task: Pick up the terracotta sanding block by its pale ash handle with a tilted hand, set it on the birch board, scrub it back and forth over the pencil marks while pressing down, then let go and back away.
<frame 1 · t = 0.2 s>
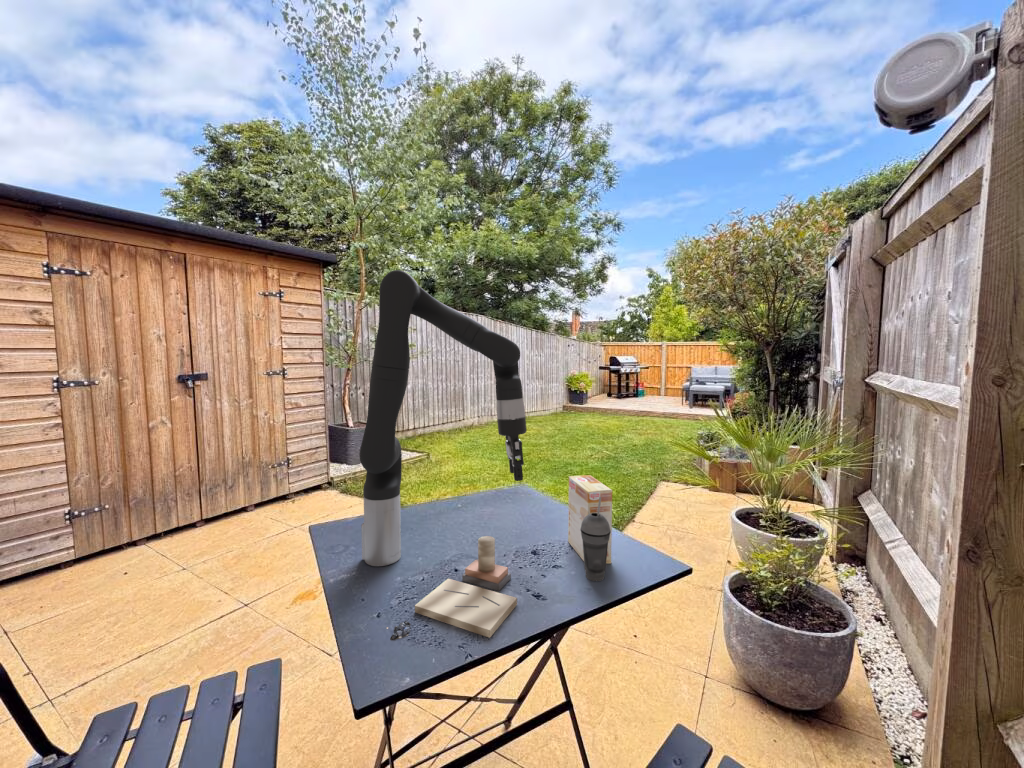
hand: (516, 476, 111), 22 cm above the table, tool pointing down, fingers open, 8 cm apart
sanding block: (486, 580, 100), on the table
coffeecake box: (588, 552, 114), on the table
beverage cup: (594, 577, 101), on the table
board: (466, 608, 88), on the table
blueberries: (399, 632, 81), on the table
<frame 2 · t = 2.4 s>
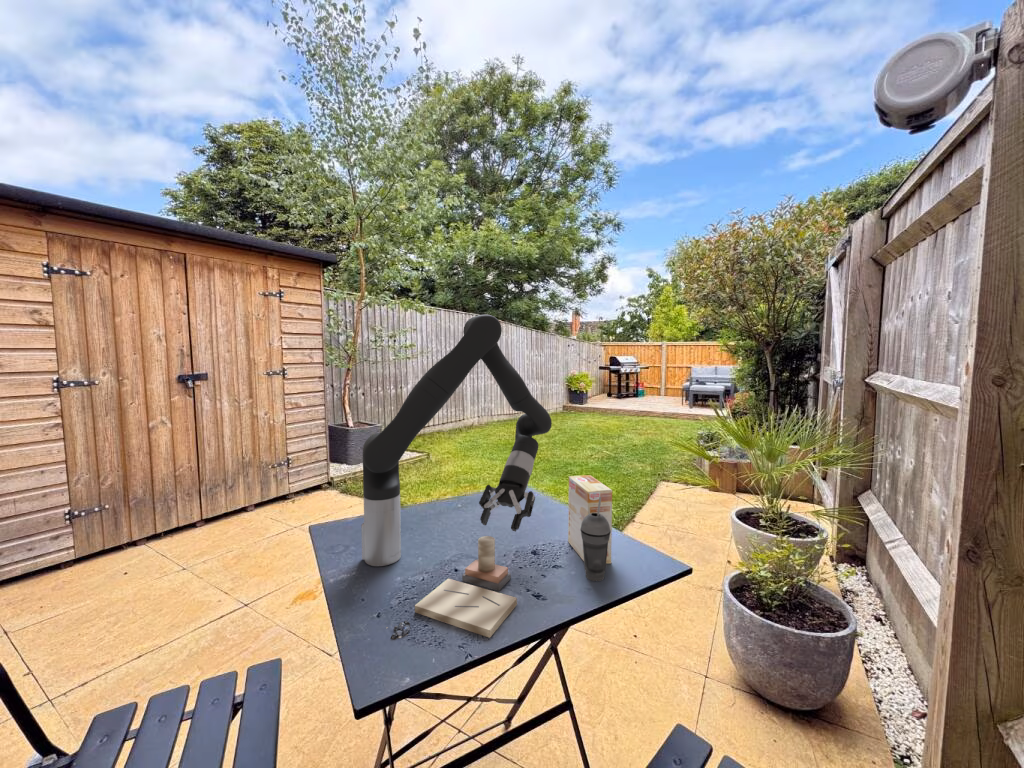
hand: (498, 527, 105), 11 cm above the table, tool tilted 45°, fingers open, 8 cm apart
nothing on the table moved.
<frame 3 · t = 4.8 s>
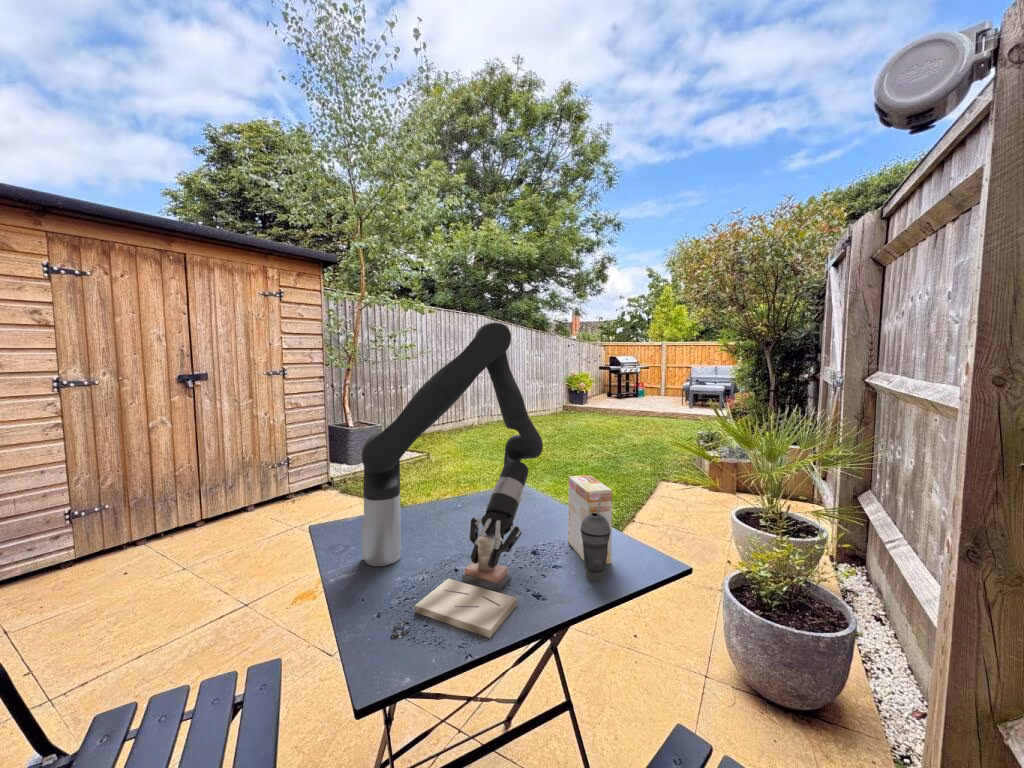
hand: (482, 564, 98), 5 cm above the table, tool tilted 45°, fingers closed on sanding block, 4 cm apart
sanding block: (486, 579, 100), on the table, touching gripper
everything else where it was.
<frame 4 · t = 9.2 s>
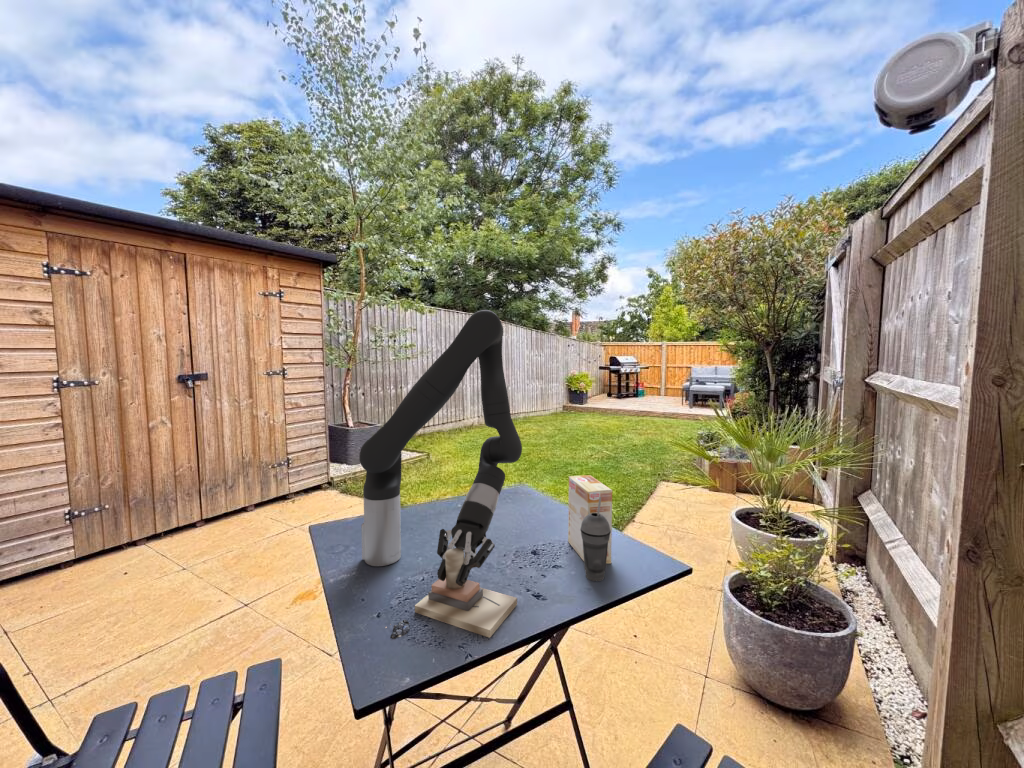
hand: (449, 581, 87), 6 cm above the table, tool tilted 45°, fingers closed on sanding block, 4 cm apart
sanding block: (455, 597, 90), point 2 cm above the table, touching board, gripper
everything else where it was.
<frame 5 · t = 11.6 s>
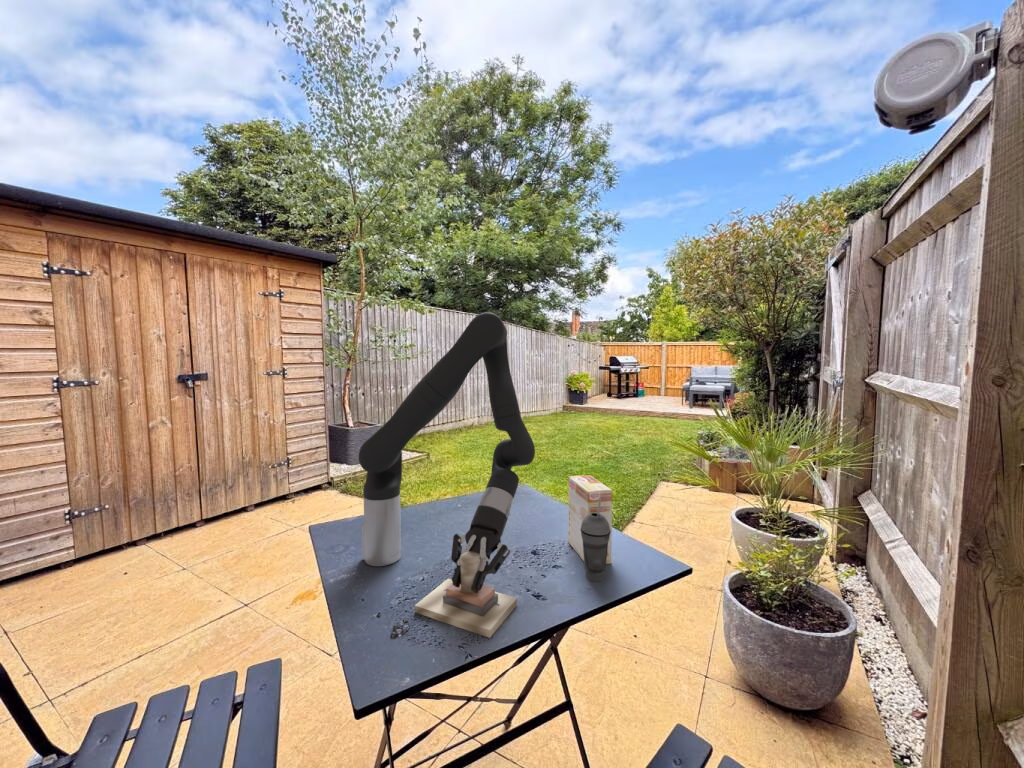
hand: (464, 588, 86), 6 cm above the table, tool tilted 45°, fingers closed on sanding block, 4 cm apart
sanding block: (470, 601, 88), point 2 cm above the table, touching gripper
everything else where it was.
when the fingers open (6 cm above the table, at t = 13.5 s): sanding block stays where it is, resting on board.
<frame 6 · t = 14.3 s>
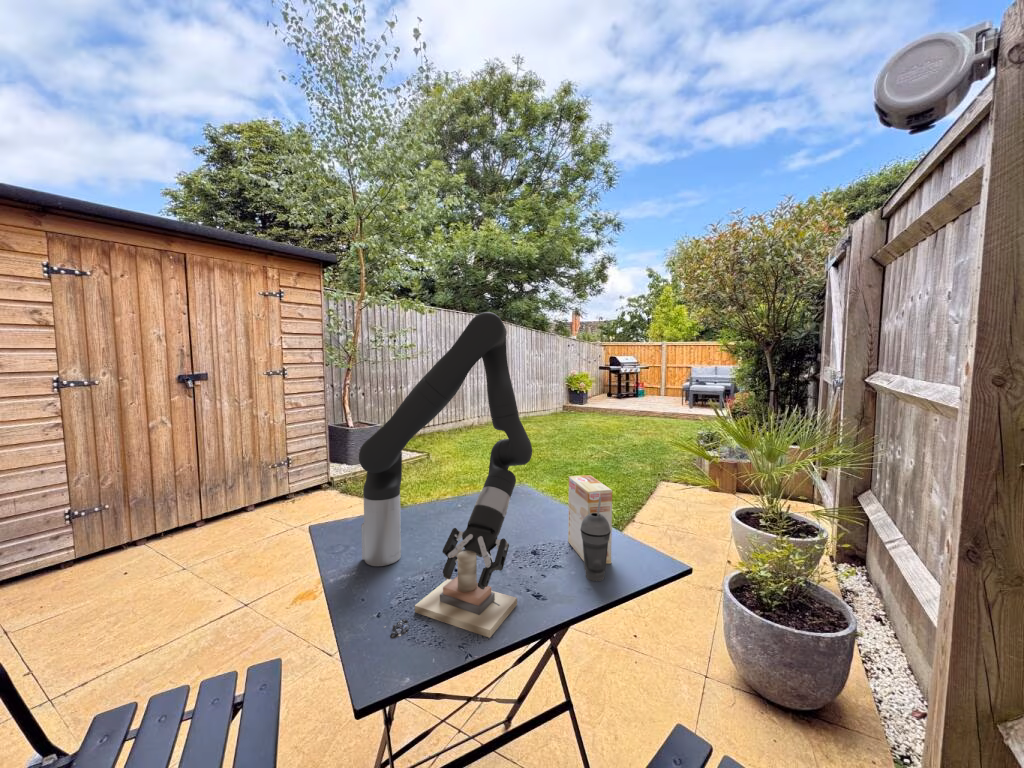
hand: (463, 582, 87), 6 cm above the table, tool tilted 45°, fingers open, 8 cm apart
sanding block: (467, 600, 89), point 2 cm above the table, touching board
everything else where it was.
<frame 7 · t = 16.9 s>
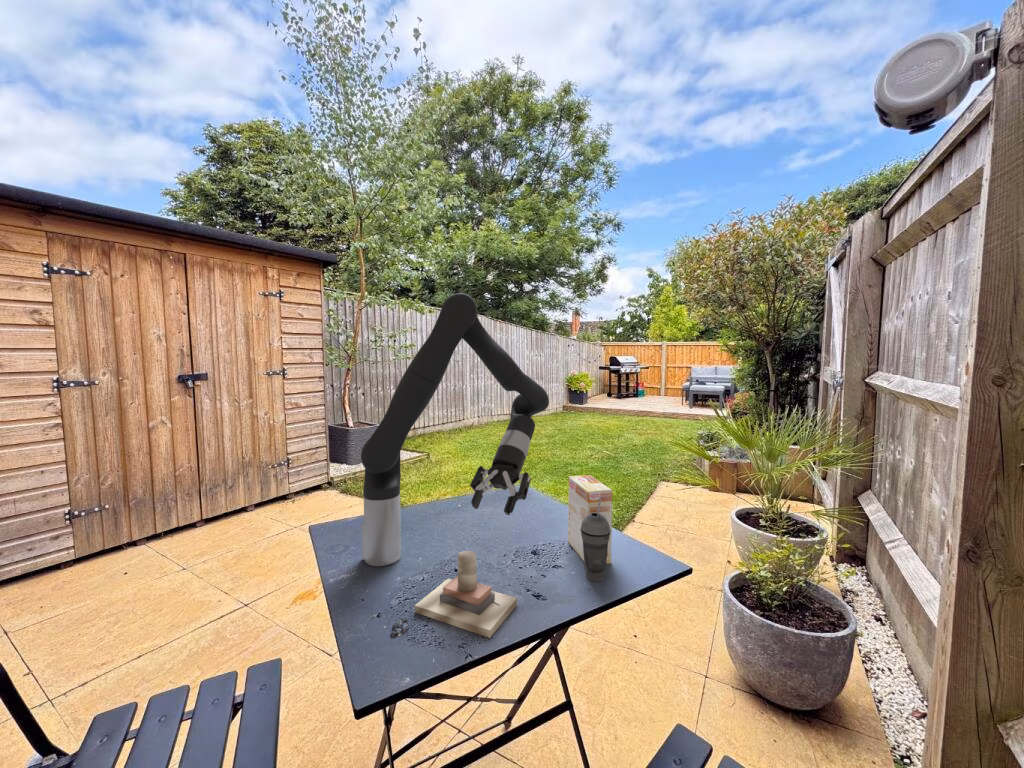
hand: (490, 510, 97), 18 cm above the table, tool tilted 45°, fingers open, 8 cm apart
nothing on the table moved.
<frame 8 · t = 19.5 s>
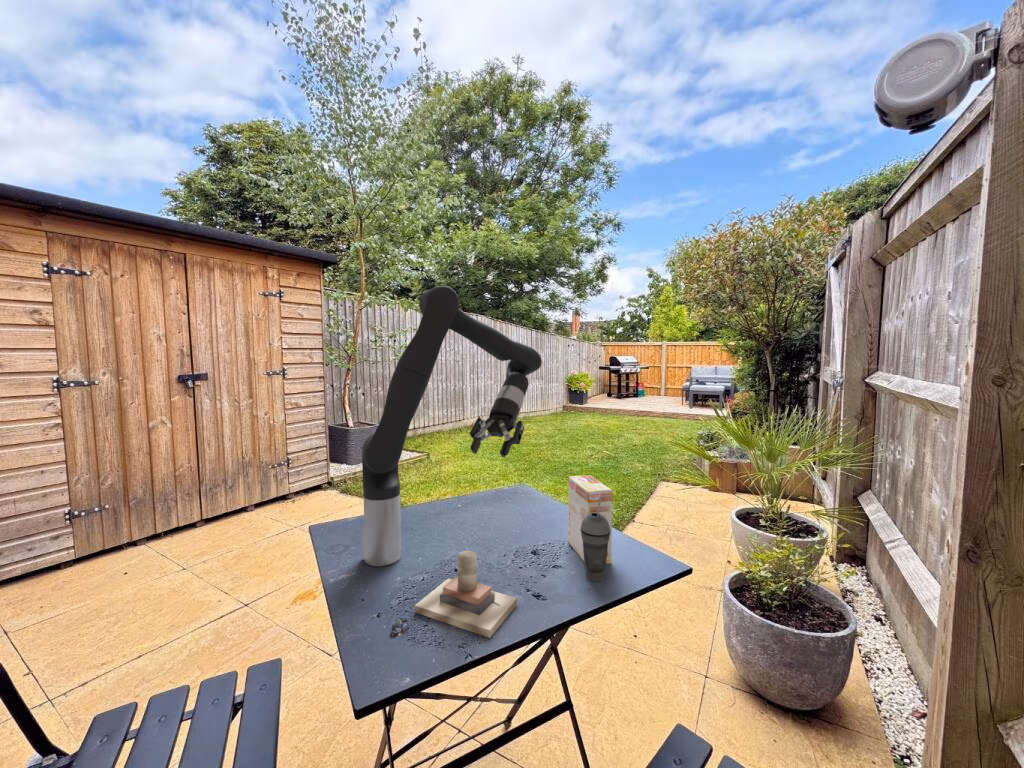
hand: (487, 453, 107), 29 cm above the table, tool tilted 45°, fingers open, 8 cm apart
at the end: sanding block inside the target area on the board (0.3 cm from its centre), point 1.6 cm above the board's base; sanding block tilted 0°; the gripper is holding nothing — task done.
